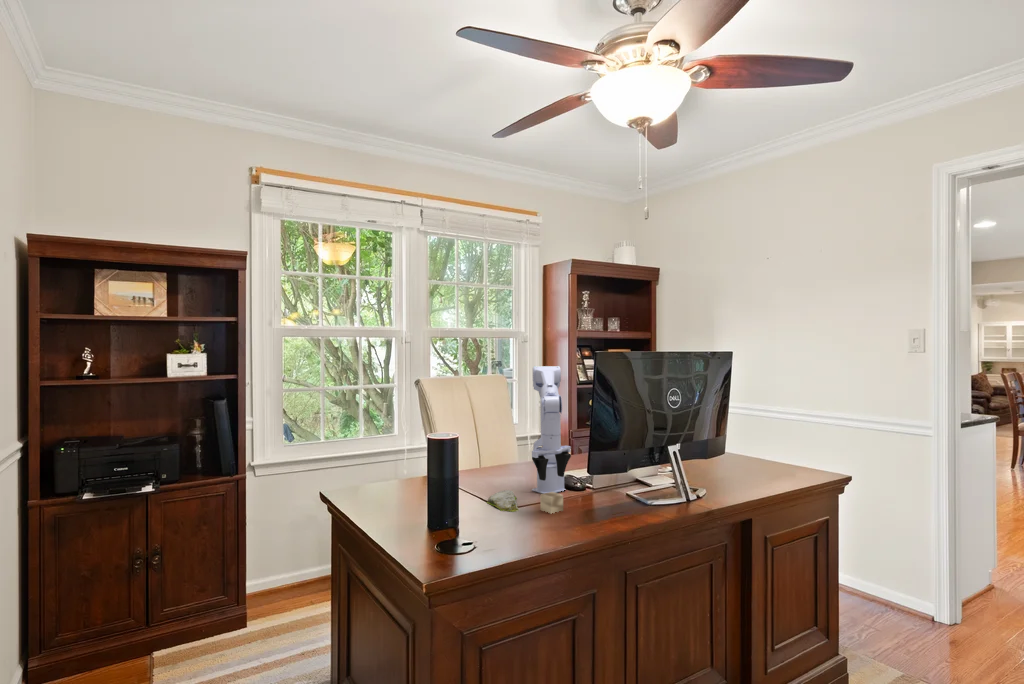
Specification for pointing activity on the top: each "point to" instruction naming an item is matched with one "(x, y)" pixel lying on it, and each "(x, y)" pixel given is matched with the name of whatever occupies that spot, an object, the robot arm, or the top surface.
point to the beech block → (551, 502)
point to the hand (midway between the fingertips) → (551, 478)
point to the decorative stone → (504, 501)
